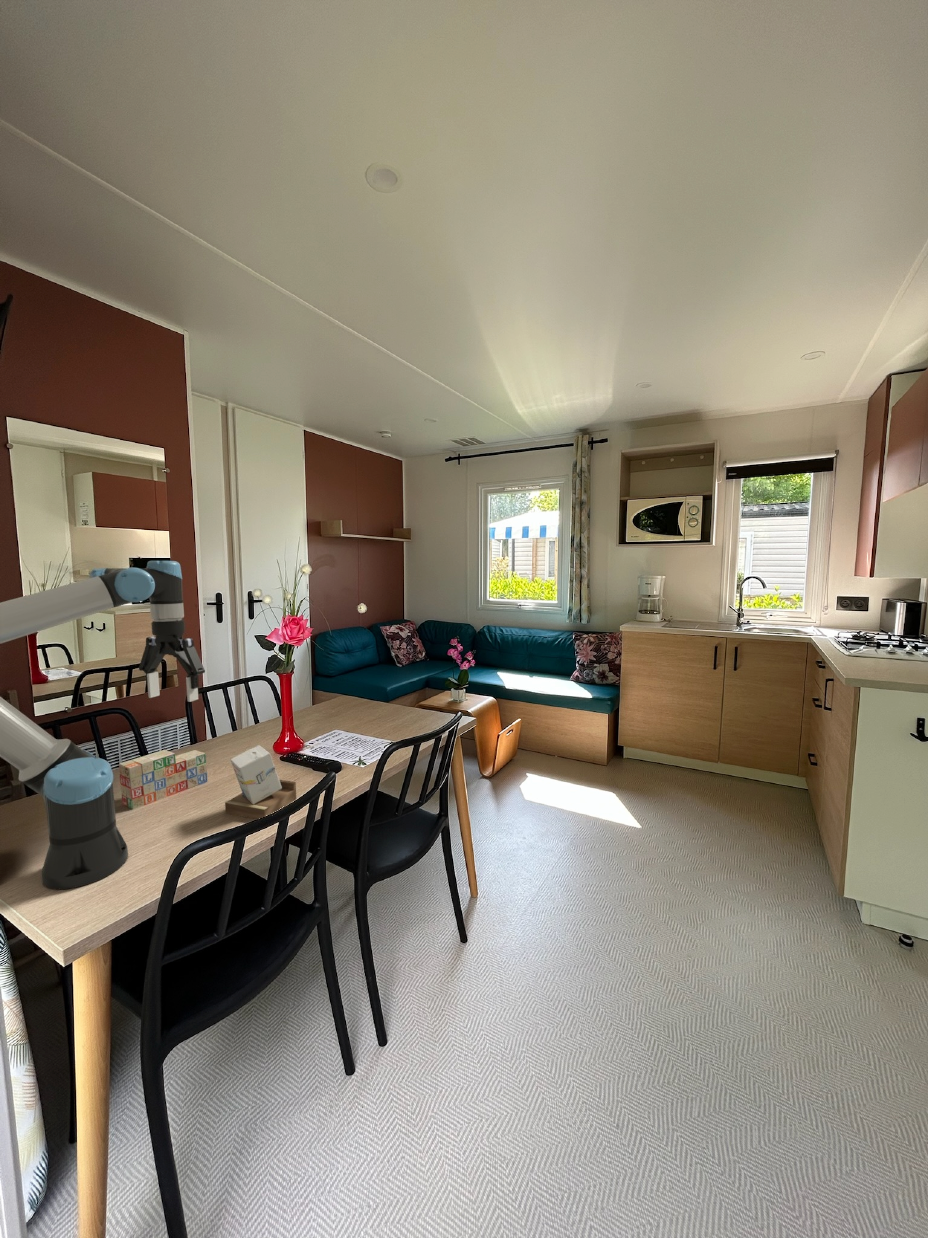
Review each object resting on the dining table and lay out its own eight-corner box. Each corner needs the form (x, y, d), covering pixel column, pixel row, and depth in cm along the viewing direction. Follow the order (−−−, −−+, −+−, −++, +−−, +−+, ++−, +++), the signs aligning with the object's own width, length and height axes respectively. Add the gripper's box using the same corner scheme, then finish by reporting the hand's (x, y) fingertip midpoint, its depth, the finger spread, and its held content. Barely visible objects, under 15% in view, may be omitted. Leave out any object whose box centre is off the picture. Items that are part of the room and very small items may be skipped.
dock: (264, 820, 128) (264, 802, 128) (225, 813, 132) (224, 795, 132) (296, 798, 141) (295, 782, 140) (259, 792, 145) (258, 776, 144)
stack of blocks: (197, 777, 156) (194, 740, 155) (207, 782, 153) (205, 744, 151) (121, 804, 138) (118, 762, 137) (132, 810, 135) (128, 767, 133)
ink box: (242, 794, 137) (228, 758, 134) (271, 778, 142) (258, 743, 139) (252, 805, 130) (239, 768, 127) (282, 788, 136) (270, 752, 133)
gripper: (216, 619, 128) (221, 698, 130) (146, 617, 136) (151, 691, 138) (192, 622, 121) (198, 706, 123) (119, 619, 128) (125, 698, 131)
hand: (173, 698), depth 130 cm, fingers open, 13 cm apart
